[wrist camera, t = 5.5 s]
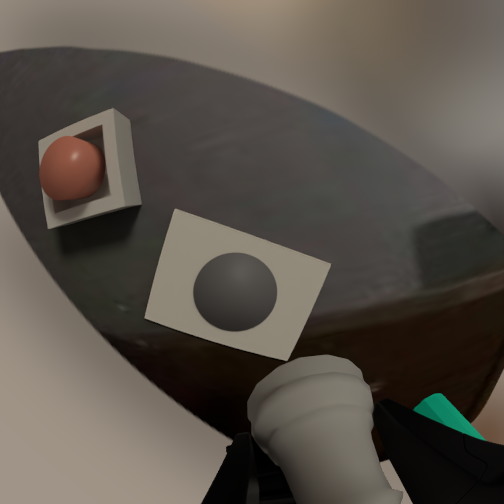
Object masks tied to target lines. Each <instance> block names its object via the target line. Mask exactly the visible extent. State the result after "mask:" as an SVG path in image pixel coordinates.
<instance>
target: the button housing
mask: <svg viewBox="0 0 504 504" xmlns="http://www.w3.org/2000/svg"><path fill="white" fill-rule="evenodd" d="M63 136H72V137H75V138H78V139H81V140H84V141H87V142H90V143H93V144H95V145H96V146H98V147H99V148H100V149H101V151H102V152H103V155H104V157H105V162H106V170H105V176H104V179H103V181H102V183H101V185H100V187H99V188H98V190H97V191H96V192H95V193H94V194H93V195H91V196H89V197H87V198H85V199H74V200H54V199H52V198H50V197H49V196H47V195H46V193H45V192H44V190H43V188H42V193H43V200H44V207H45V213H46V219H47V225H48V229H51V228H56V227H60V226H65V225H69V224H73V223H76V222H80V221H83V220H86V219H90V218H93V217H97V216H100V215H104V214H107V213H111V212H115V211H118V210H122V209H126V208H130V207H134V206H138V205H142V203H141V197H140V191H139V185H138V179H137V173H136V166H135V159H134V151H133V143H132V134H131V125H130V120H129V119H127V118H126V117H125V116H123V115H122V114H121V113H119V112H118V111H117V110H115V109H114V108H112V109H110V110H107V111H104V112H102V113H99V114H96V115H94V116H91V117H89V118H87V119H84V120H82V121H79V122H77V123H75V124H73V125H70V126H68V127H66V128H64V129H62V130H60V131H58V132H56V133H54V134H52V135H50V136H48V137H46V138H44V139H42V140H40V141H39V161H40V164H41V161H42V158H43V155H44V153H45V151H46V150H47V148H48V147H49V146H50V145H51V144H52V143H53V142H54V141H55V140H57V139H58V138H60V137H63Z"/></svg>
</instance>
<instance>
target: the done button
mask: <svg viewBox="0 0 504 504" xmlns="http://www.w3.org/2000/svg"><path fill="white" fill-rule="evenodd" d="M105 170H106V162H105V157H104V155H103V152H102V151H101V149H100V148H99V147H98V146H96V145H95V144H93V143H90V142H87V141H84V140H81V139H78V138H75V137H72V136H63V137H60V138H58V139H57V140H55V141H54V142H53V143H52V144H51V145H50V146H49V147H48V148H47V150H46V151H45V153H44V155H43V158H42V161H41V164H40V172H39V175H40V183H41V186H42V188H43V190H44V192H45V193H46V195H47V196H49V197H50V198H52V199H54V200H74V199H85V198H87V197H89V196H91V195H93V194H94V193H95V192H96V191H97V190H98V188H99V187H100V185H101V183H102V181H103V179H104V176H105Z"/></svg>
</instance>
